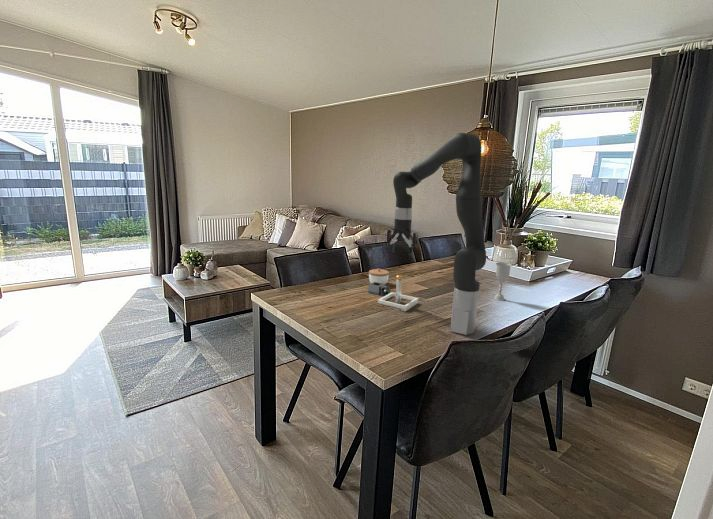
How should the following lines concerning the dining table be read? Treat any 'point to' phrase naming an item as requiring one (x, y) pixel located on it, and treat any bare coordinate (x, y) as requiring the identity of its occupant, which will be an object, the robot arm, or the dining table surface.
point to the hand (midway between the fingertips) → (401, 253)
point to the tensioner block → (378, 289)
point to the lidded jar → (378, 275)
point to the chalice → (502, 277)
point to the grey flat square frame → (402, 307)
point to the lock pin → (398, 288)
